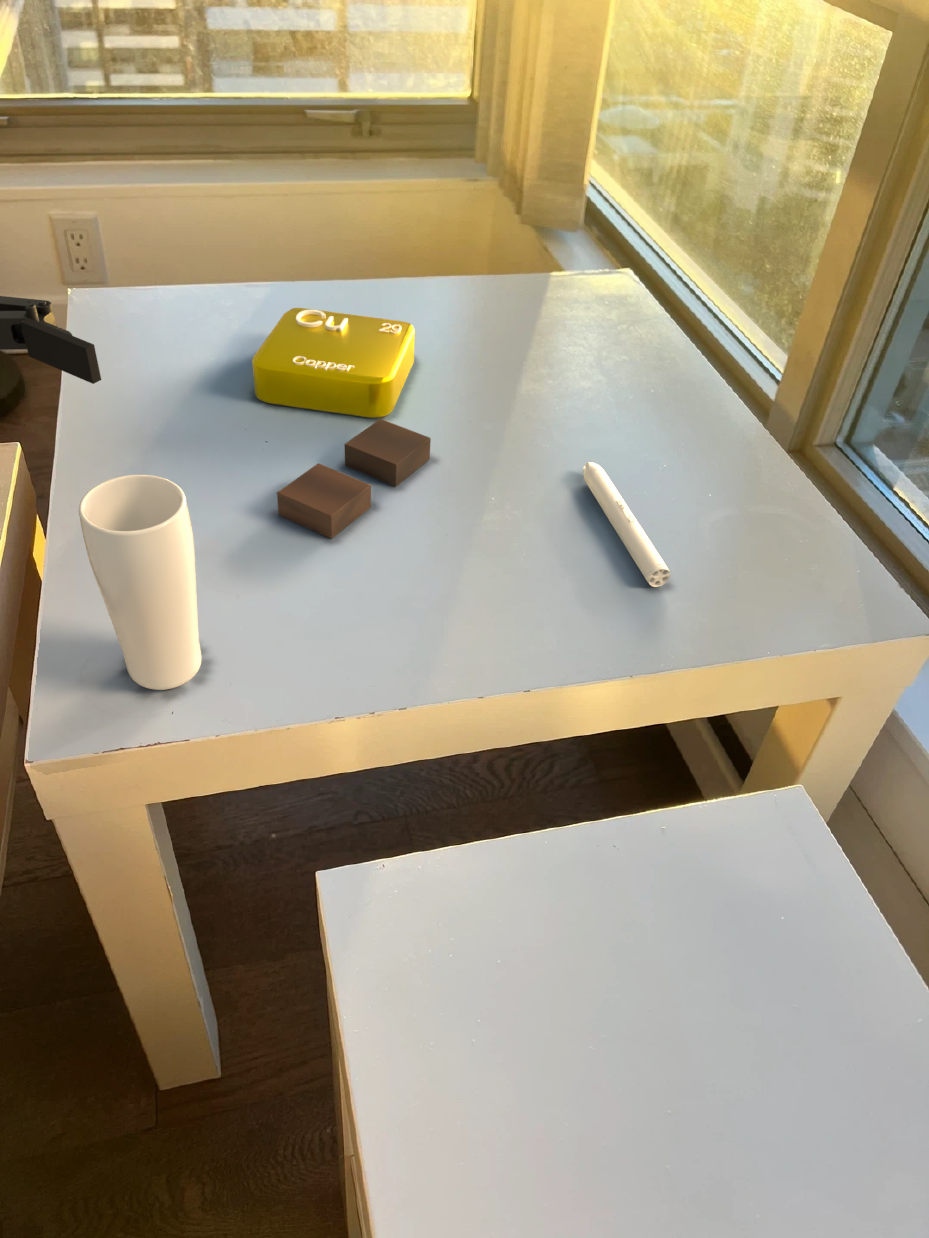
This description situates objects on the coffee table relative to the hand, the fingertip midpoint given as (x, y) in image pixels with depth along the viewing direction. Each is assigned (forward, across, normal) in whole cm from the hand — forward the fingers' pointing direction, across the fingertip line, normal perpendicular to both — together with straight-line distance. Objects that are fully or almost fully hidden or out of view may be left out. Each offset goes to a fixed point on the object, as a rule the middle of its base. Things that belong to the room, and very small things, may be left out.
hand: (13, 404), depth 62 cm
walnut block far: (+7, -33, -19) cm, 38 cm away
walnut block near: (+7, -23, -19) cm, 30 cm away
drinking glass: (+10, 0, -19) cm, 21 cm away
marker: (+30, -37, -19) cm, 51 cm away
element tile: (-7, -43, -19) cm, 48 cm away
